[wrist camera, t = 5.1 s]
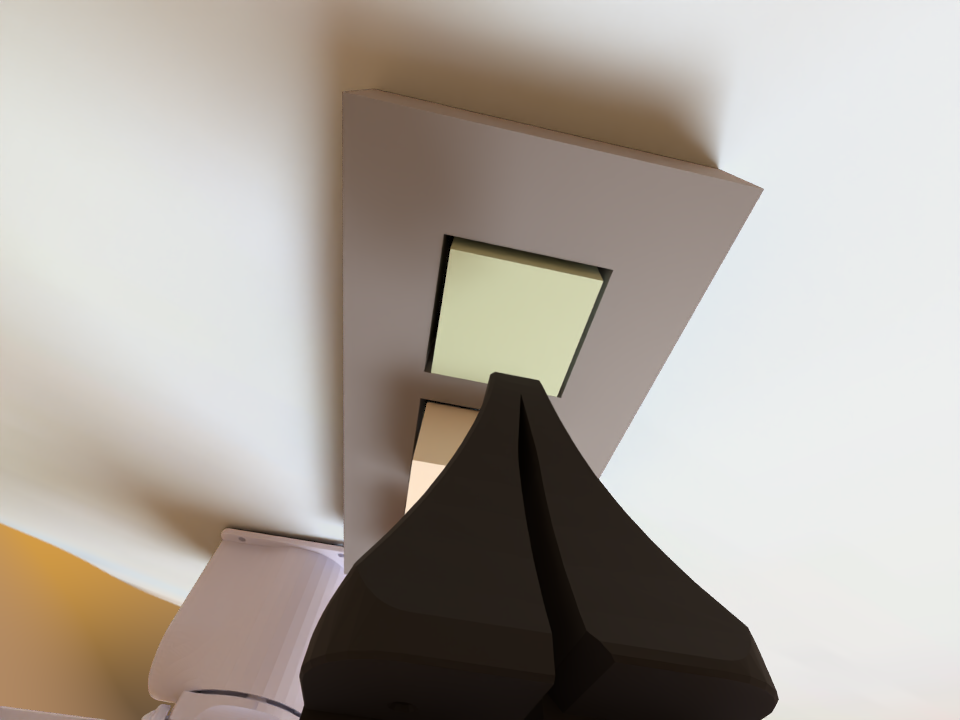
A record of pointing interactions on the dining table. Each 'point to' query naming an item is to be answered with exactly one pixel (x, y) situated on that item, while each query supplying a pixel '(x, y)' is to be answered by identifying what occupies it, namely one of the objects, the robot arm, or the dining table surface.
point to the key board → (519, 225)
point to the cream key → (436, 445)
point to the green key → (512, 313)
